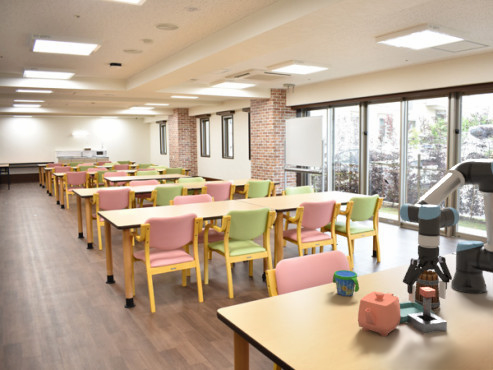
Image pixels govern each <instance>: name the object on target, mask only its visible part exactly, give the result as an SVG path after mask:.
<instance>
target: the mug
mask: <svg viewBox="0 0 493 370" xmlns="http://www.w3.org/2000/svg"><path fill="white" fill-rule="evenodd" d="M439 281H440V277H439V276H438V275H437V273H436V272H435V271H434V270H425V271H424V272H422V274H421V275H420V276H419V278H418V279H417V280H416V282H415V302H417V303H418V304H420V305H422V306H423V296H422V295H420V294H419V290H420V288H422V287H430V288H432V289H434V290H435V297H431V311H436V310H438V309H439V308H441V307H440V306H441V302H440V301H441V299H440V297H439Z"/></svg>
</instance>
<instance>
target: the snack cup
mask: <svg viewBox="0 0 493 370" xmlns="http://www.w3.org/2000/svg"><path fill="white" fill-rule="evenodd" d="M332 283H334V284H335V286H336V292H337V294H338V295H340V296H343V297H351V296H353V295H354V293H357V292H359V290H360V286H359V281H358V273H356V272H355V271H352V270H348V269H342V270H336V271H334V273H333V277H332Z"/></svg>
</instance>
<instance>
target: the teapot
mask: <svg viewBox="0 0 493 370" xmlns="http://www.w3.org/2000/svg"><path fill="white" fill-rule="evenodd" d="M399 303H400V297H398V296H397V295H396V296H395V295H394V293H390V292H386V293H384V292H380V291H371V292H370V293H368V294H366V295H365V296H363V297H362V298H361V299H360V301H359V306H358V313H357V322H358V327H360V328H362V330H363V331H365V332H370V331H372V332H376V333H379V335H380V336H381V337H388V336H389V333H391V332H392V331H395V330H396V329H397V327H398V326H399V324H401V323H400V304H399Z"/></svg>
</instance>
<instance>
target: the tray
mask: <svg viewBox="0 0 493 370" xmlns="http://www.w3.org/2000/svg"><path fill="white" fill-rule="evenodd" d="M399 304H400V323H399V324H403V323H407V314H413V313H421V312H423V306H422V305H420V304H418V303H417V302H415V303H413V302H411V301H405V302H399ZM431 313H433V314H434V315H436V314H435V312H434V310H431Z"/></svg>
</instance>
